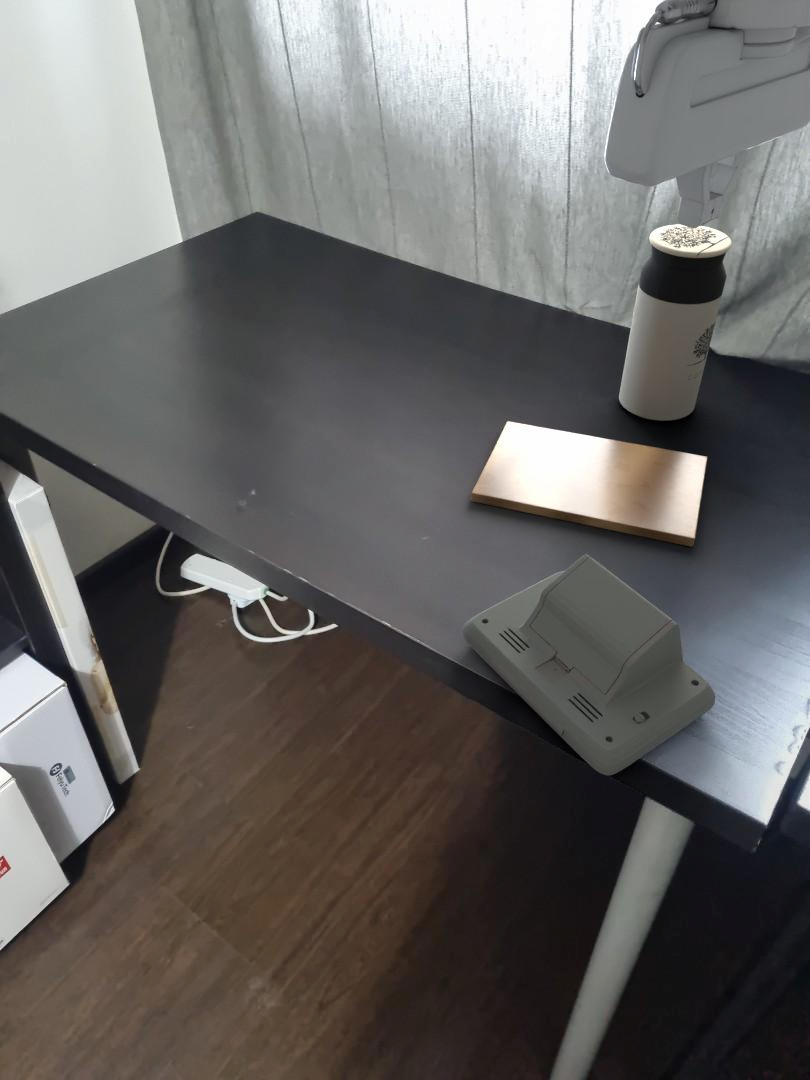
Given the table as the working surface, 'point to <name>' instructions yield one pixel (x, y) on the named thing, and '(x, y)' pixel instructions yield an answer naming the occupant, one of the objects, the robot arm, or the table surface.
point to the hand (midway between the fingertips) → (698, 221)
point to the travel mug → (673, 321)
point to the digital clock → (593, 663)
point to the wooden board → (595, 482)
